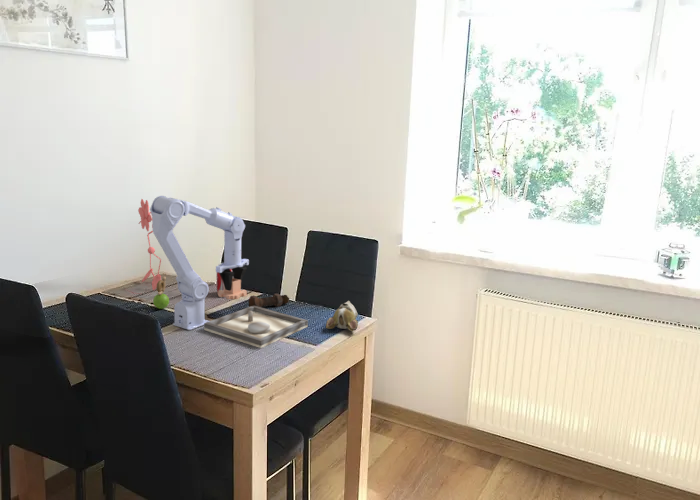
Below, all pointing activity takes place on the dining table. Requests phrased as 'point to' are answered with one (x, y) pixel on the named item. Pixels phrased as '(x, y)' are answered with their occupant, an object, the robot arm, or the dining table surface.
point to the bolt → (268, 300)
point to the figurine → (145, 223)
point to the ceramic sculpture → (344, 318)
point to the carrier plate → (256, 318)
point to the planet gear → (233, 290)
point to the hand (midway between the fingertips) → (232, 288)
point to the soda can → (220, 281)
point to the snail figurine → (161, 295)
